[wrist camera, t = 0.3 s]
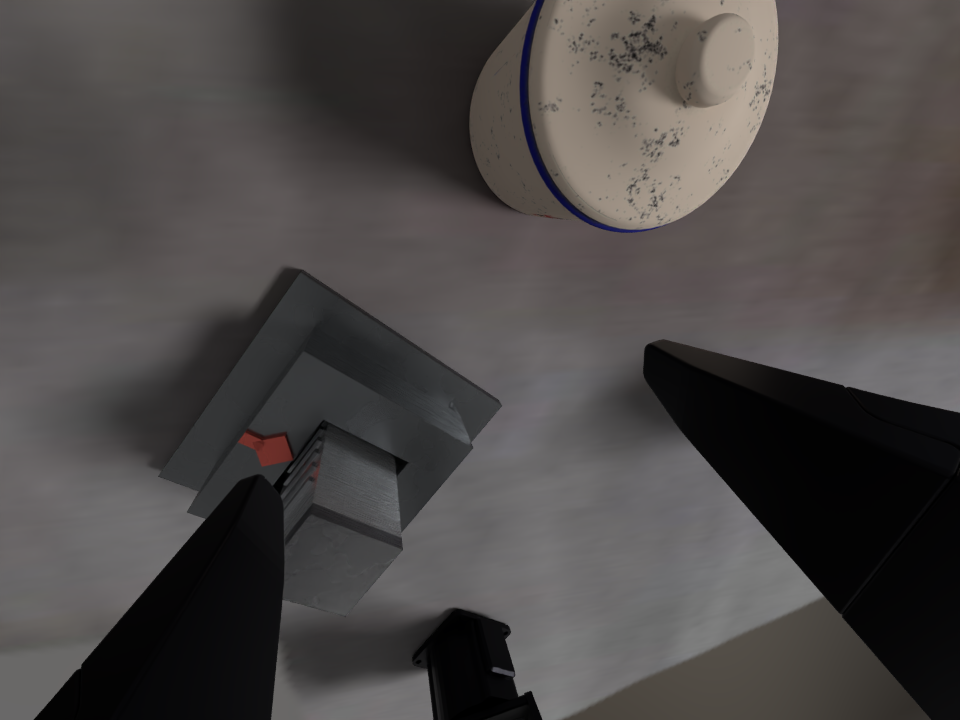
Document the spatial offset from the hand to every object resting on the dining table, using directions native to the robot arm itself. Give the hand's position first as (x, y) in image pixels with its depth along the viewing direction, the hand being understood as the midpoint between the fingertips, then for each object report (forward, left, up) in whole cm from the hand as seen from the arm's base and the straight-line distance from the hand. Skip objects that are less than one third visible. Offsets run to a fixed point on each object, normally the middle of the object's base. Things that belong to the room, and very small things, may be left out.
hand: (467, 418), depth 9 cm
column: (-10, -2, -14) cm, 17 cm away
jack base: (-10, -2, -14) cm, 17 cm away
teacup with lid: (+12, -1, -15) cm, 19 cm away
